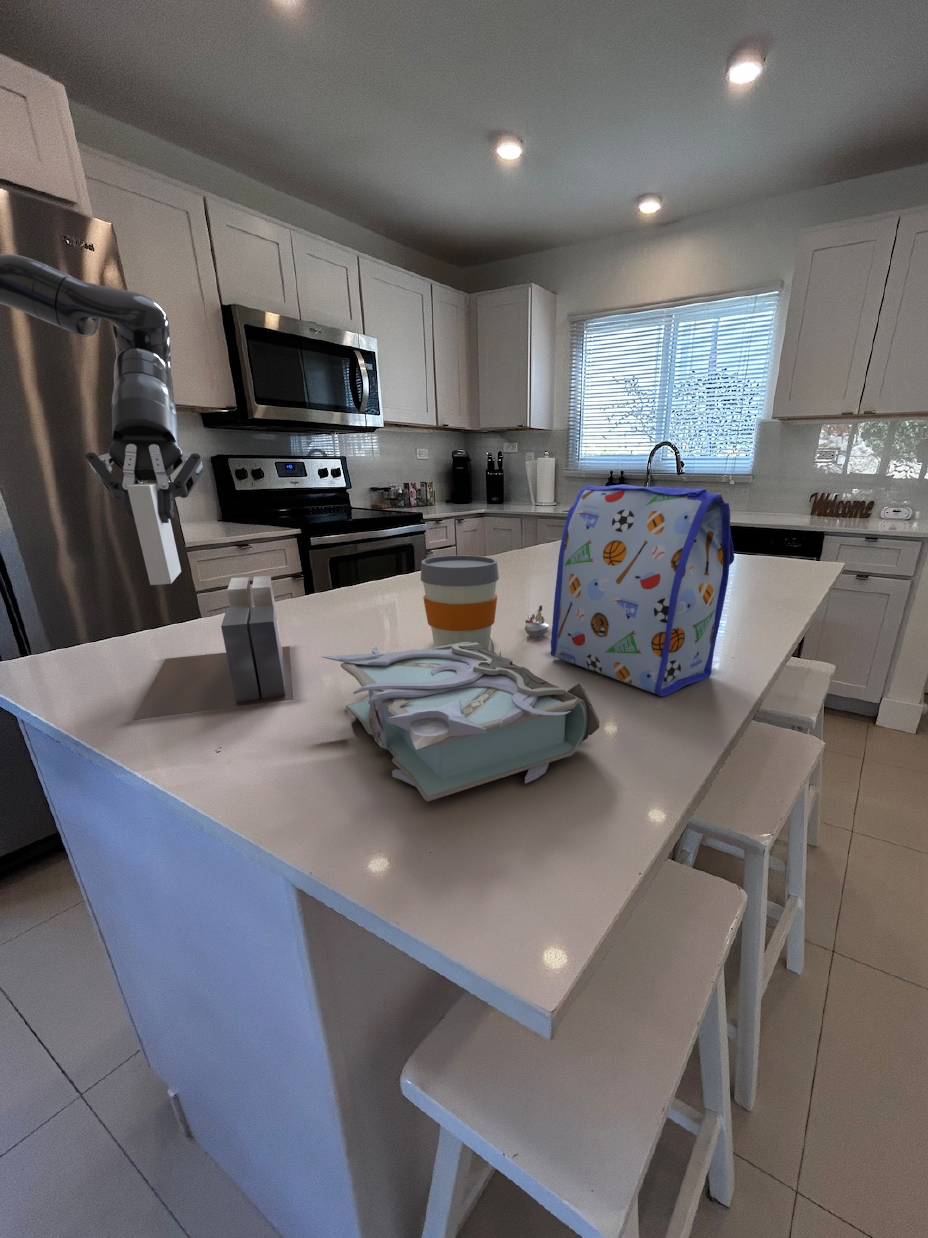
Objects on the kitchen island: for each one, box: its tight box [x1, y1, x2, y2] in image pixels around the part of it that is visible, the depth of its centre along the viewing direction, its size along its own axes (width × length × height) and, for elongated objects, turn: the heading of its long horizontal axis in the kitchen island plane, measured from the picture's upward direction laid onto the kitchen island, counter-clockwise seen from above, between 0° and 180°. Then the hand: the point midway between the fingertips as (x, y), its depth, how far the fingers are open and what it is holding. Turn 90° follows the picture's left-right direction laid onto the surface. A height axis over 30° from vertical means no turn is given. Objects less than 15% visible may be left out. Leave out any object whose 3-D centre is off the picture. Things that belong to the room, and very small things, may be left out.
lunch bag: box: [550, 484, 735, 697], centre depth 83 cm, size 23×17×27 cm
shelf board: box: [132, 575, 295, 721], centre depth 78 cm, size 18×24×13 cm
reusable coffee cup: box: [420, 554, 500, 651], centre depth 93 cm, size 13×13×15 cm
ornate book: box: [318, 635, 601, 803], centre depth 65 cm, size 23×10×30 cm
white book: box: [127, 482, 182, 586], centre depth 74 cm, size 2×9×12 cm, turn 21°
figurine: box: [524, 604, 550, 641], centre depth 102 cm, size 5×4×6 cm
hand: (149, 518), depth 72 cm, fingers closed on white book, 2 cm apart
